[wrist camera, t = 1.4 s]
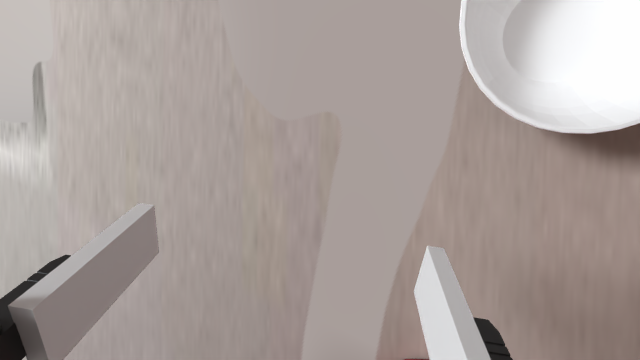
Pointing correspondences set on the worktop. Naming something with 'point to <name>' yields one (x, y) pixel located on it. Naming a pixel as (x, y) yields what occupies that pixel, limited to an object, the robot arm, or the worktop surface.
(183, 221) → the worktop surface
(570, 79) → the bowl
